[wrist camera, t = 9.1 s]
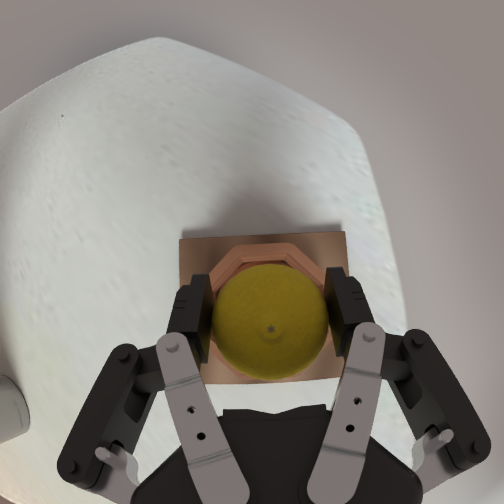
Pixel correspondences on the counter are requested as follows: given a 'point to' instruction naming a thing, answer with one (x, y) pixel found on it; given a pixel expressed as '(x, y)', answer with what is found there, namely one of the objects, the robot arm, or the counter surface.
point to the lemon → (270, 322)
